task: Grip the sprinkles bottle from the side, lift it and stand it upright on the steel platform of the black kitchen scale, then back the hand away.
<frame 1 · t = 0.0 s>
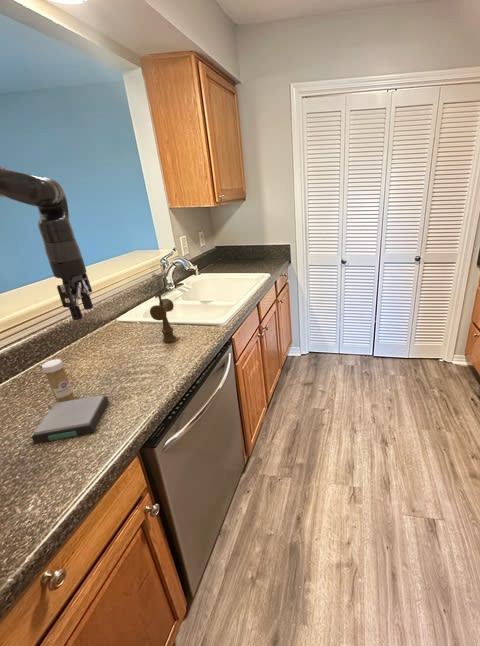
hand: (83, 313, 93), 24 cm above the countertop, tool pointing down, fingers open, 8 cm apart
kendama: (169, 341, 129), on the countertop
sprinkles bottle: (67, 403, 93), on the countertop
kitchen scale: (74, 421, 85), on the countertop
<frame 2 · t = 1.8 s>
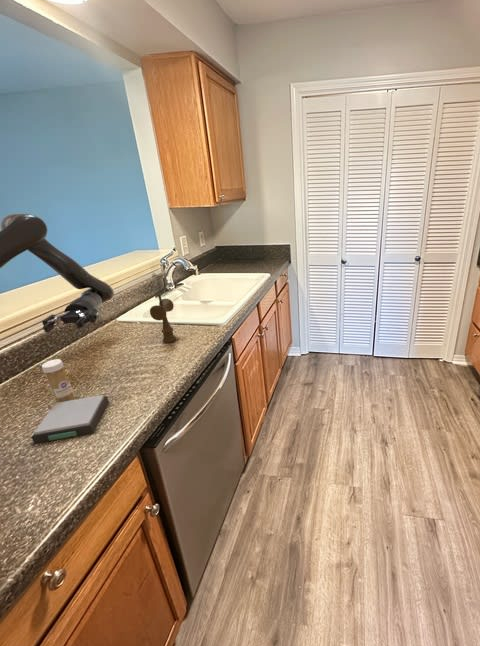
hand: (62, 327, 96), 19 cm above the countertop, tool horizontal, fingers open, 8 cm apart
nothing on the countertop moved.
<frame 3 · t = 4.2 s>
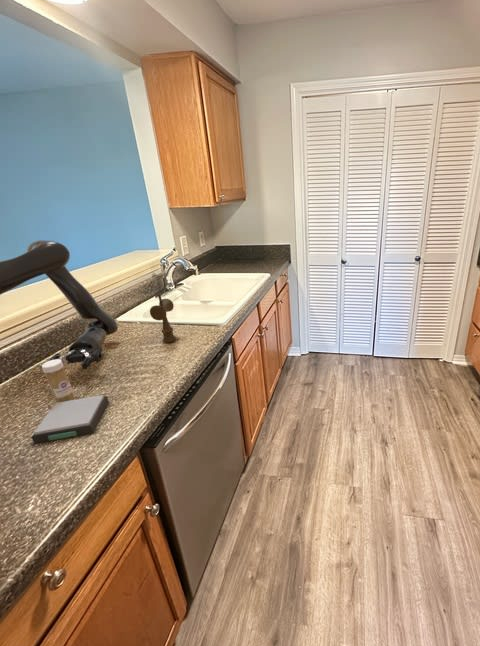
hand: (67, 369, 96), 8 cm above the countertop, tool horizontal, fingers open, 8 cm apart
nothing on the countertop moved.
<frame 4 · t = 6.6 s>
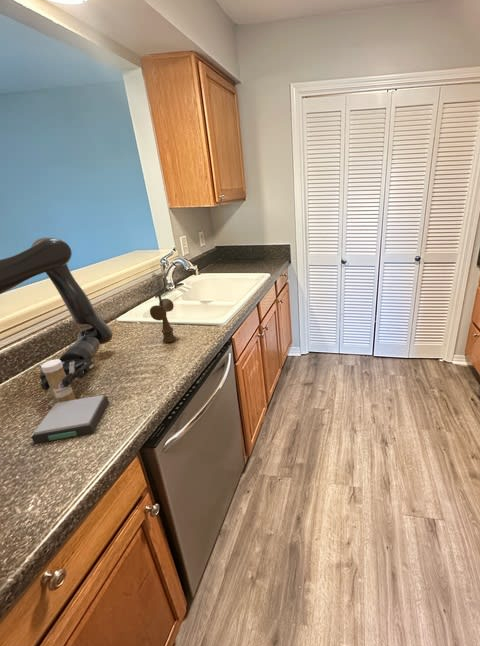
hand: (54, 385, 88), 8 cm above the countertop, tool horizontal, fingers closed on sprinkles bottle, 4 cm apart
sprinkles bottle: (67, 403, 93), on the countertop, touching gripper
everything else where it was.
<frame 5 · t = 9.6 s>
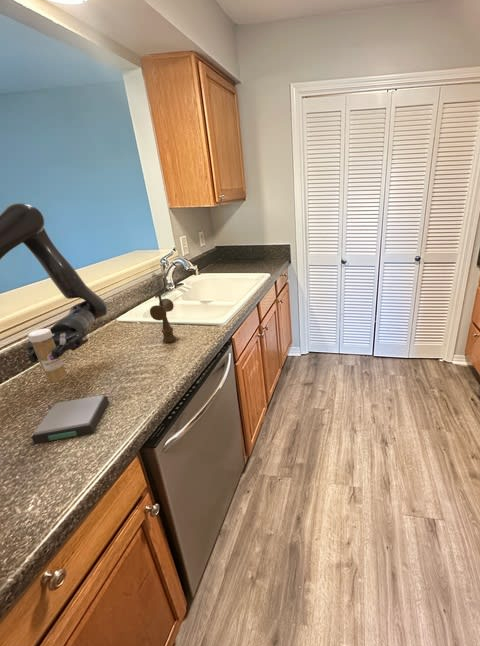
hand: (43, 357, 80), 19 cm above the countertop, tool horizontal, fingers closed on sprinkles bottle, 4 cm apart
sprinkles bottle: (58, 378, 85), point 11 cm above the countertop, touching gripper
everything else where it was.
when the fingers open (11 cm above the countertop, at t = 13.0 s): sprinkles bottle stays where it is, resting on kitchen scale.
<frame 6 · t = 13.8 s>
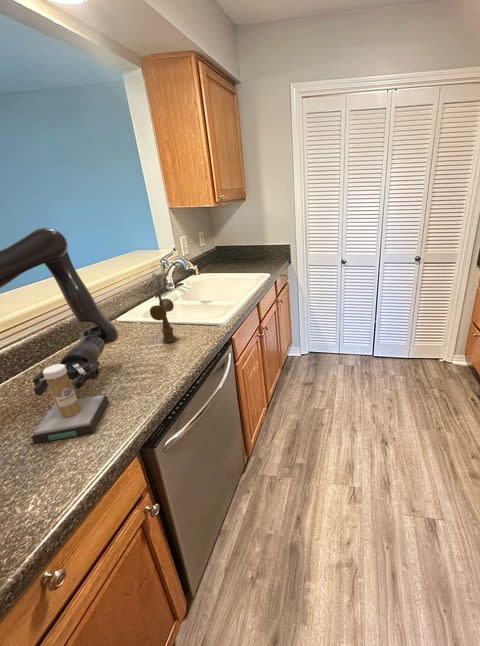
hand: (57, 389, 79), 11 cm above the countertop, tool horizontal, fingers open, 8 cm apart
sprinkles bottle: (71, 413, 84), point 3 cm above the countertop, touching kitchen scale
everything else where it was.
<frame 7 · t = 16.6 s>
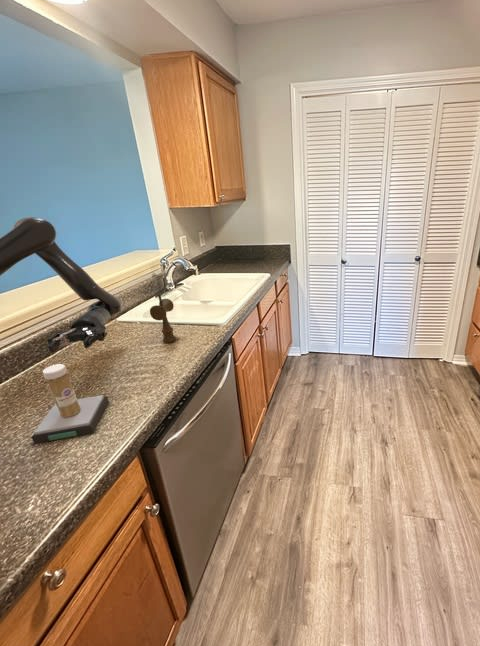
hand: (68, 347, 89), 16 cm above the countertop, tool horizontal, fingers open, 8 cm apart
nothing on the countertop moved.
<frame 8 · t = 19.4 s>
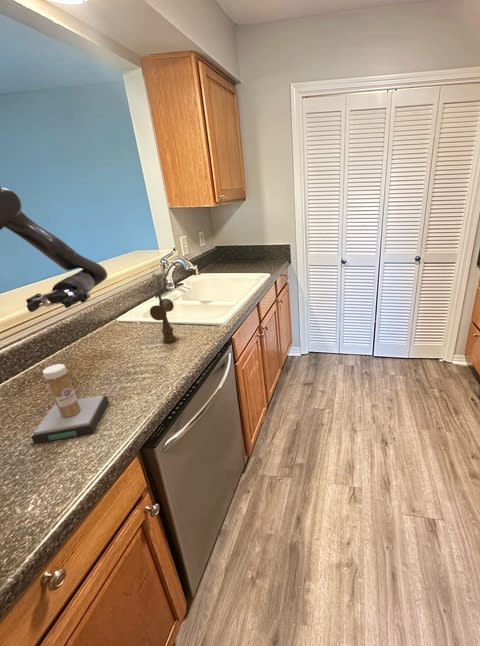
hand: (48, 306, 87), 28 cm above the countertop, tool horizontal, fingers open, 8 cm apart
nothing on the countertop moved.
at the end: sprinkles bottle inside the target area on the kitchen scale (0.2 cm from its centre), point 2.8 cm above the kitchen scale's base; sprinkles bottle tilted 0°; the gripper is holding nothing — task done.
